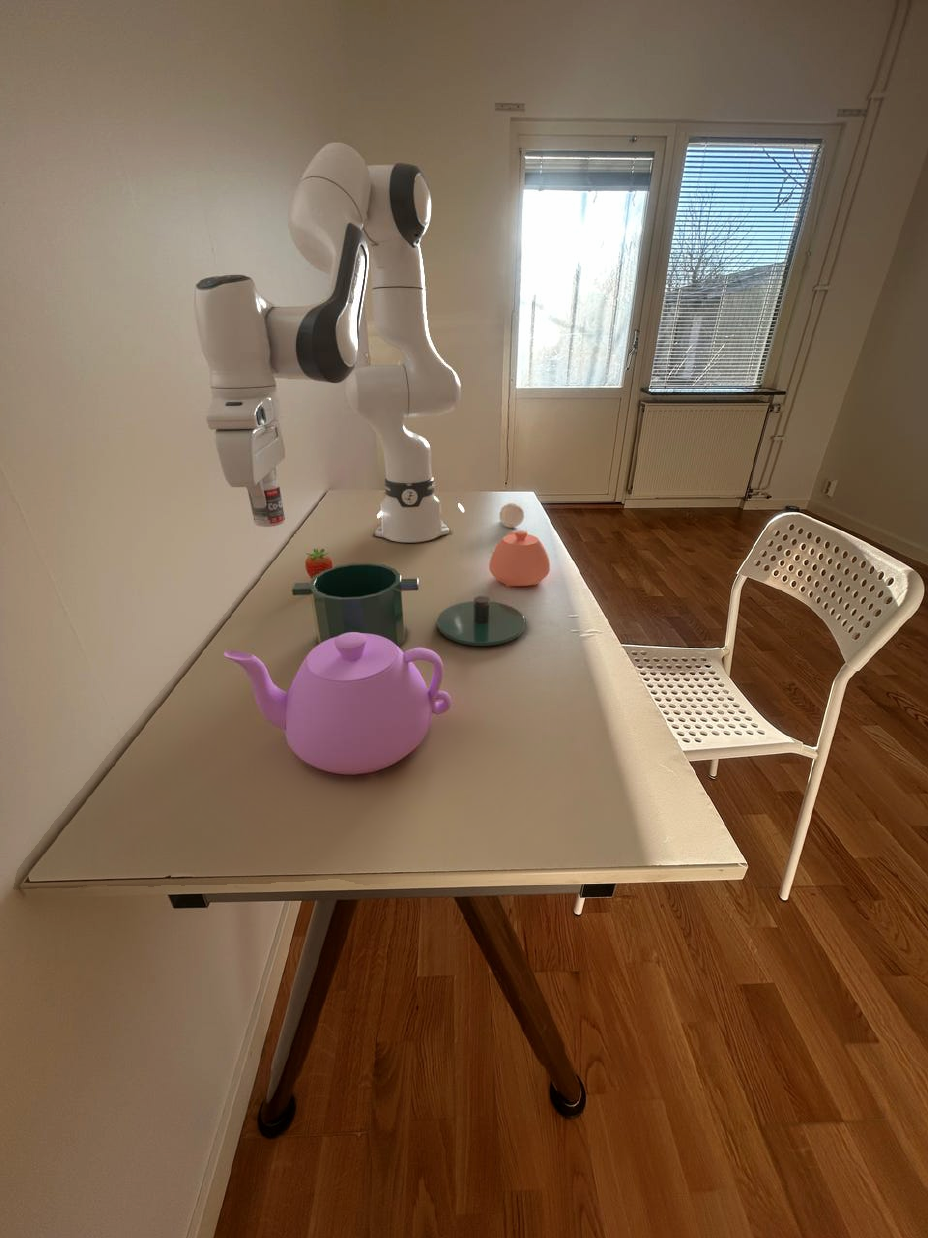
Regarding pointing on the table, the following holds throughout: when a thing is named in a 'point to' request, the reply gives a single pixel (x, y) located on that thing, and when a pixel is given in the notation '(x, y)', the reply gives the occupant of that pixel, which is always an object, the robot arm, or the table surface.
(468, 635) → the lid
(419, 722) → the teapot
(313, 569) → the fruit
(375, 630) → the pot
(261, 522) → the pill bottle
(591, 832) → the table surface
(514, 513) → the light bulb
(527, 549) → the sugar bowl
